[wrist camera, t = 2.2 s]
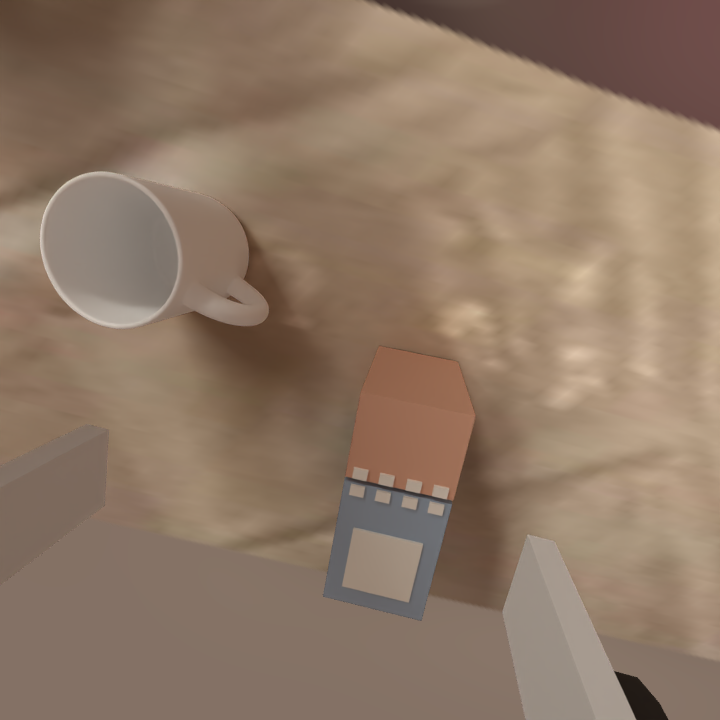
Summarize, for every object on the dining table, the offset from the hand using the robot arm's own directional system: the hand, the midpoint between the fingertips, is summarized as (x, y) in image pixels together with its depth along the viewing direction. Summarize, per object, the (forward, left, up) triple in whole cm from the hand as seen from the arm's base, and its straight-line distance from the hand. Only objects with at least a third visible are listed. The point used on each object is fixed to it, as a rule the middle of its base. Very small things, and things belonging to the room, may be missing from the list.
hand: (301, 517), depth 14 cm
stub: (+2, +3, -21) cm, 22 cm away
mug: (-4, -13, -22) cm, 25 cm away
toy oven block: (+9, +3, -21) cm, 23 cm away
